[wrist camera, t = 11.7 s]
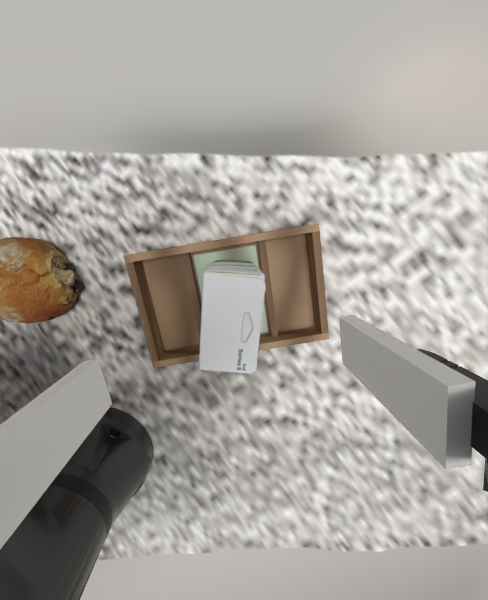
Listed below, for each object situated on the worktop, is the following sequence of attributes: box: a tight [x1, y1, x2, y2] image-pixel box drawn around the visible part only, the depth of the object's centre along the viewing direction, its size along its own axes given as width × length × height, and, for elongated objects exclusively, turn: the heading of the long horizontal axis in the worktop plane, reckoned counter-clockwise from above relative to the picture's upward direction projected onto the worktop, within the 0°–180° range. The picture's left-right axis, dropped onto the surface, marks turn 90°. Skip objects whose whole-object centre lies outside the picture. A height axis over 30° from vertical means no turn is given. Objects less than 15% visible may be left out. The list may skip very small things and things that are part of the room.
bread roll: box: [0, 237, 82, 323], centre depth 28 cm, size 10×10×8 cm
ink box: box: [199, 260, 266, 374], centre depth 24 cm, size 9×5×12 cm, turn 176°
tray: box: [124, 224, 329, 368], centre depth 29 cm, size 22×14×4 cm, turn 99°
